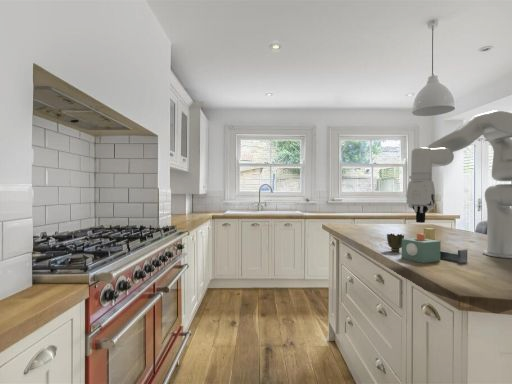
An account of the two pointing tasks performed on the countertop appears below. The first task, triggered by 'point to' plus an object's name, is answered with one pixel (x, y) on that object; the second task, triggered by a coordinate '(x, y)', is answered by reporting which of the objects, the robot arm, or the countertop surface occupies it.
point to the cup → (395, 241)
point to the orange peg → (421, 237)
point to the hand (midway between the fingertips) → (420, 222)
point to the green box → (421, 250)
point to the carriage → (429, 233)
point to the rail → (454, 256)
